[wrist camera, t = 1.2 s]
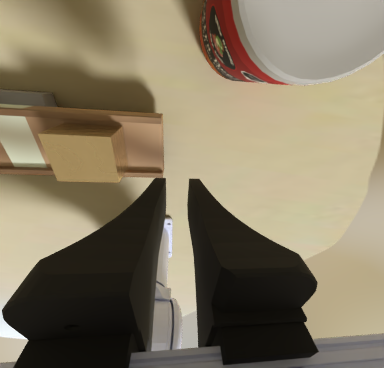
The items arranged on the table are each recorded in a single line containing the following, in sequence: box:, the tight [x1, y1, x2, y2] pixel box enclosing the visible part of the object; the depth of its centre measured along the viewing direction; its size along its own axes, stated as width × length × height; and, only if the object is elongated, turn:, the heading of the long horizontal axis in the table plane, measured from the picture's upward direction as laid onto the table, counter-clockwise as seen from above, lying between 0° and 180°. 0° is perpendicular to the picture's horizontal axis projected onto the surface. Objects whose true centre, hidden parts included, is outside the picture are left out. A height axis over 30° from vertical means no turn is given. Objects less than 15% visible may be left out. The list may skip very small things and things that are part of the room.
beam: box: [0, 89, 164, 178], centre depth 16 cm, size 8×26×4 cm, turn 86°
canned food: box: [199, 0, 384, 86], centre depth 10 cm, size 8×8×11 cm
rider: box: [38, 123, 128, 183], centre depth 15 cm, size 4×5×3 cm
